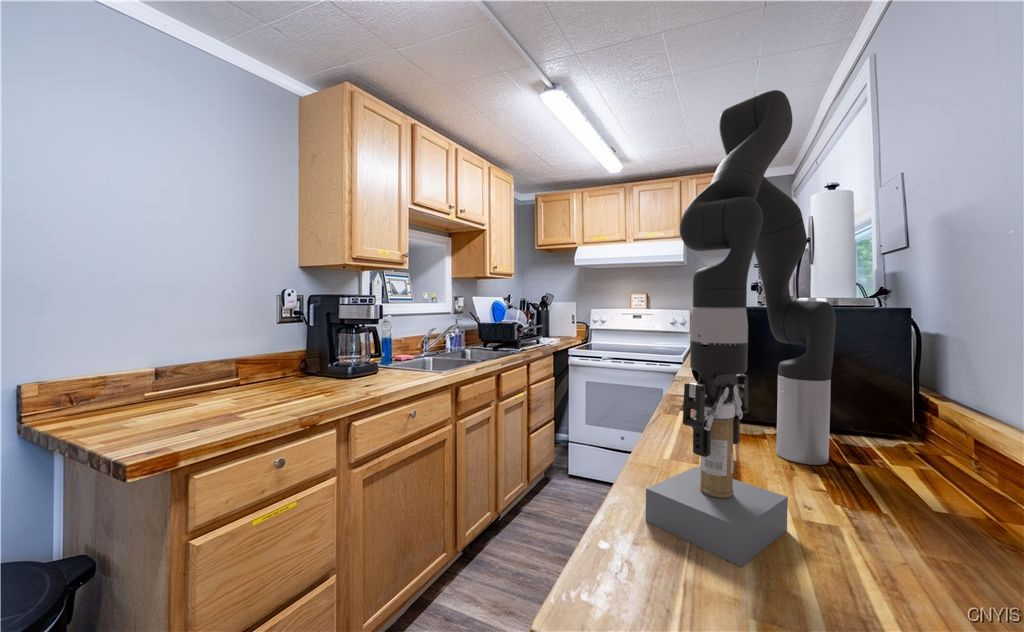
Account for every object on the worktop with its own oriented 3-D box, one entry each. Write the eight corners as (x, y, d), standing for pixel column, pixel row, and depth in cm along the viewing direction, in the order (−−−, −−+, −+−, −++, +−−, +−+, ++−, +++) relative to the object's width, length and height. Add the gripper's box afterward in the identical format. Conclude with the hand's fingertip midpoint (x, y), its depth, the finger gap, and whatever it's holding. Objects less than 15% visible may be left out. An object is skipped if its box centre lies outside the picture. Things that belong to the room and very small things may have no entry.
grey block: (695, 495, 73) (695, 466, 72) (786, 530, 61) (787, 496, 61) (645, 520, 64) (645, 488, 64) (741, 567, 53) (741, 527, 53)
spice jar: (739, 494, 62) (741, 403, 62) (722, 502, 60) (723, 407, 59) (710, 483, 66) (711, 397, 65) (692, 490, 63) (693, 400, 63)
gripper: (717, 334, 69) (716, 433, 70) (667, 339, 61) (665, 452, 61) (767, 337, 63) (765, 445, 64) (719, 343, 55) (717, 468, 55)
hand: (716, 448), depth 62 cm, fingers open, 8 cm apart
